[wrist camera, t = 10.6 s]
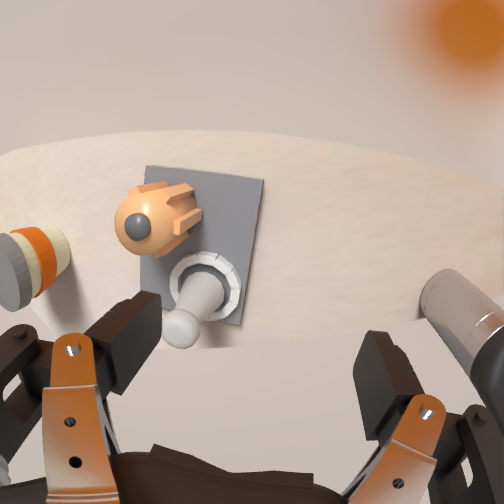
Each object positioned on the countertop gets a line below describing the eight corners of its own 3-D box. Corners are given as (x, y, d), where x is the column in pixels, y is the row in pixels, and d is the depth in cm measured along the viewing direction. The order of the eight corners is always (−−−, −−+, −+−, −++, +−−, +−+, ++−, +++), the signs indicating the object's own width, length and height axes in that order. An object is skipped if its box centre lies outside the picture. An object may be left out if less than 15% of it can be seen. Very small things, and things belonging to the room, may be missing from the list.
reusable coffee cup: (33, 260, 45) (-17, 287, 31) (40, 205, 41) (-19, 224, 27) (73, 290, 46) (22, 327, 32) (82, 233, 42) (21, 262, 27)
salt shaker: (236, 288, 39) (214, 342, 27) (208, 310, 41) (180, 366, 28) (206, 257, 38) (171, 301, 26) (180, 281, 40) (140, 329, 27)
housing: (263, 179, 36) (252, 186, 24) (241, 318, 43) (225, 373, 30) (152, 165, 37) (99, 169, 25) (146, 296, 44) (106, 338, 31)
